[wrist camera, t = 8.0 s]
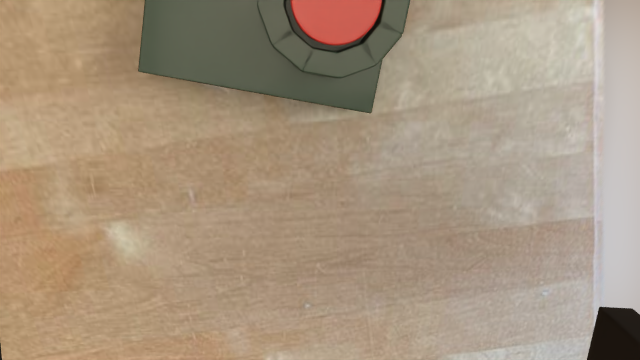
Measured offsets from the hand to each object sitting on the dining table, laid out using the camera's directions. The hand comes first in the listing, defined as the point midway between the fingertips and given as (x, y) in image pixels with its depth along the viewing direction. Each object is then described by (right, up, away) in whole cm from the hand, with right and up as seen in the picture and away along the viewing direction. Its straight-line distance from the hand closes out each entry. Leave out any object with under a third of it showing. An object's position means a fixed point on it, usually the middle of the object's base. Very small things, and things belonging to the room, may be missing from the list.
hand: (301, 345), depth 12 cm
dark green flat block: (-2, +13, +16) cm, 21 cm away
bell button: (+1, +12, +13) cm, 18 cm away
